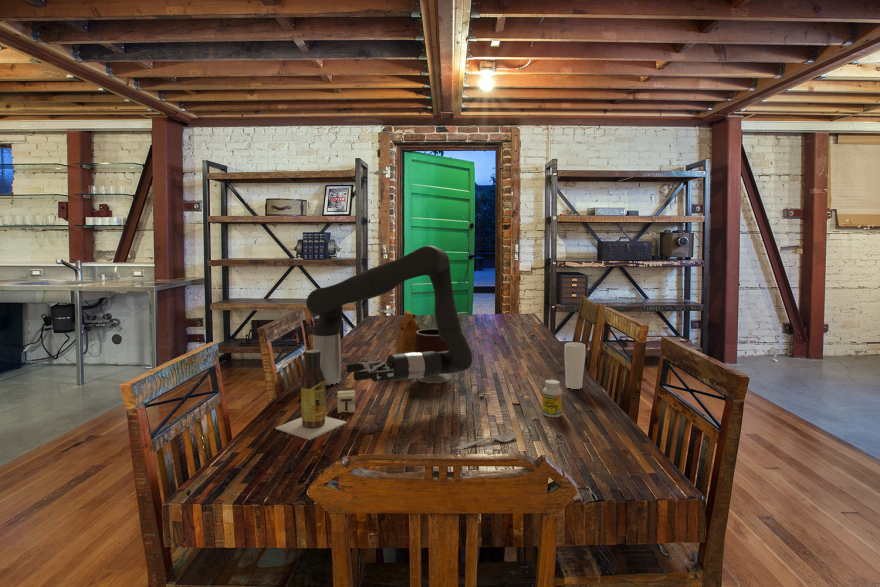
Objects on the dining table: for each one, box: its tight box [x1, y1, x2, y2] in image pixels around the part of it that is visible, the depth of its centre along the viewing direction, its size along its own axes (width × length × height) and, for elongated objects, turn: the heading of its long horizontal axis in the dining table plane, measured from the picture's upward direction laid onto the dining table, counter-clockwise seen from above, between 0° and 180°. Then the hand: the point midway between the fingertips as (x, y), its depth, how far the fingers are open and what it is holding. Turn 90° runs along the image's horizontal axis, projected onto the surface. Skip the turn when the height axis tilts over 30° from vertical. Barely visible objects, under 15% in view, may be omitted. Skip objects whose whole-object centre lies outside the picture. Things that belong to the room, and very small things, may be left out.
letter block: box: [336, 389, 356, 414], centre depth 137 cm, size 5×5×5 cm
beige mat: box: [274, 415, 348, 441], centre depth 125 cm, size 13×13×1 cm
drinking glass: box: [563, 341, 586, 390], centre depth 157 cm, size 7×7×15 cm
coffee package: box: [395, 310, 421, 354], centre depth 184 cm, size 10×12×22 cm
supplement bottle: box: [541, 379, 563, 418], centre depth 133 cm, size 5×5×10 cm
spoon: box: [456, 432, 517, 450], centre depth 113 cm, size 4×21×2 cm, turn 114°
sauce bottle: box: [300, 349, 327, 428], centre depth 124 cm, size 6×6×20 cm
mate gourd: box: [415, 328, 452, 384], centre depth 168 cm, size 16×14×20 cm
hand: (350, 372), depth 128 cm, fingers open, 8 cm apart
